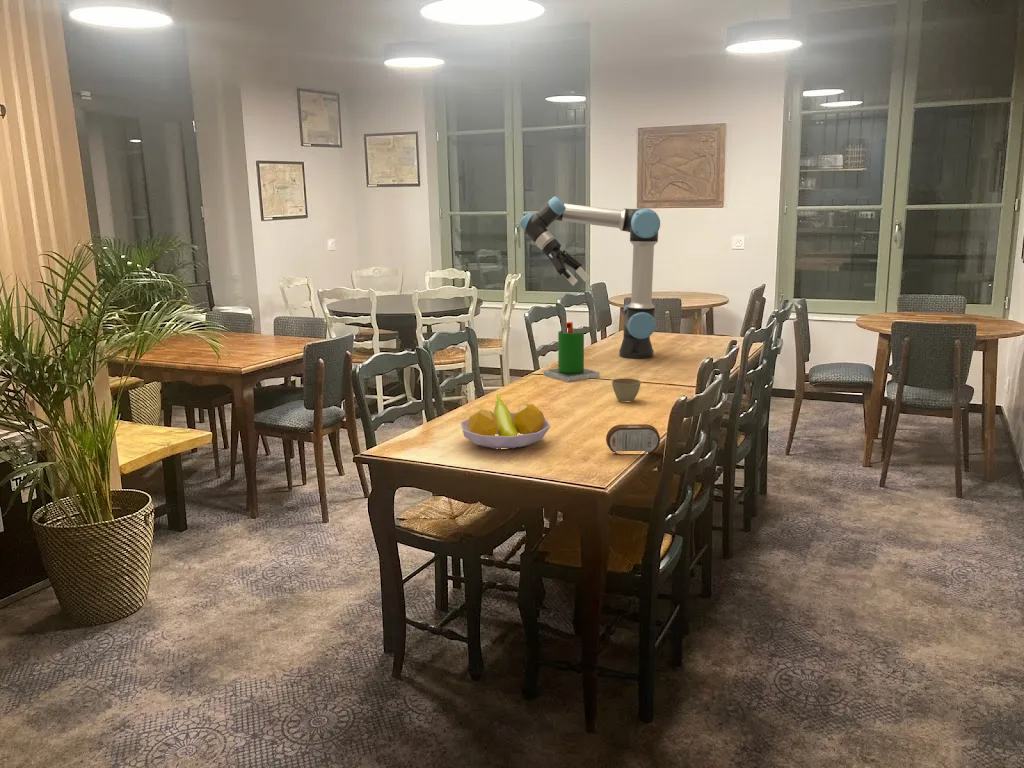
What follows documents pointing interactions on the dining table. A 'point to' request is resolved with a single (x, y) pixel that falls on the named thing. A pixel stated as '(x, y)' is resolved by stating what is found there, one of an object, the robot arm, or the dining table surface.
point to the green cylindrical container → (570, 351)
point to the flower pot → (626, 388)
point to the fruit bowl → (506, 426)
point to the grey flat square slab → (571, 375)
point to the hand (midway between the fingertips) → (581, 281)
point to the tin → (633, 438)
